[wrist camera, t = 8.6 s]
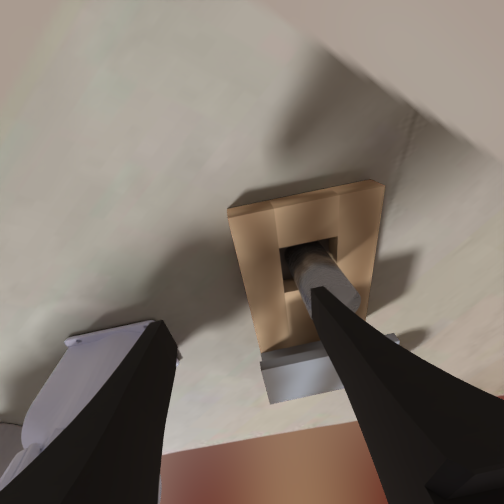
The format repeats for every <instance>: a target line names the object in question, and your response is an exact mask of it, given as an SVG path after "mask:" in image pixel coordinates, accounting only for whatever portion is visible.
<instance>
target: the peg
mask: <svg viewBox="0 0 504 504" xmlns="http://www.w3.org/2000/svg"><path fill="white" fill-rule="evenodd" d="M285 260H286V263H287V265H288V267H289V270H290V272H291V274H292V276H293V279H294V281H295V283H296V286H297V288H298V290H299V292H300V295H301V297H302V299H303V302H304V304H305V306H306V308H307V311H308V313H309V315H310V317H311V319H312V310H311V288H316V287H321V286H324V287H325V288H327V289H328V290H329V291H330V292H331V293H332V294H333V295H334V296H335V297H336V298H338V299H339V300H340V301H341V302H342V303H343V304H345V305H346V306H347V307H348V308H349V309H350V310H352V311H353V312H354V313H355V312H356V311H357V310H358V308H359V306H360V303H361V297H360V295H359V293H358V292H357V290H356V289H355V288H354V286H353V285H352V284H351V282H350V281H349V280H348V279H347V277H346V276H345V275H344V273H343V272H342V271H341V269H340V268H339V267H338V265H337V264H336V263H335V261H334V260H333V259H332V258H331V256H330V255H329V254H328V252H327V251H326V250H325V248H324V247H323V246H322V244H321V243H320V242H319V241H318V240H317V241H312V242H307V243H303V244H298V245H293V246H288V247H287V248H286V250H285Z"/></svg>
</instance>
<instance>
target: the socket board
mask: <svg viewBox="0 0 504 504" xmlns="http://www.w3.org/2000/svg"><path fill="white" fill-rule="evenodd" d="M384 192H385V185H382V184H380V183H378V182H375V181H373V180H371V179H369V180H364V181H360V182H355V183H350V184H345V185H340V186H335V187H330V188H326V189H321V190H316V191H311V192H306V193H301V194H296V195H292V196H287V197H282V198H277V199H272V200H267V201H262V202H258V203H253V204H248V205H243V206H238V207H233V208H229V209H227V215H228V221H229V226H230V230H231V234H232V238H233V242H234V246H235V250H236V254H237V258H238V262H239V266H240V270H241V274H242V278H243V282H244V286H245V291H246V295H247V299H248V303H249V307H250V311H251V315H252V319H253V323H254V327H255V331H256V335H257V339H258V343H259V347H260V351H261V357H262V361H261V362H260V366H261V372H262V375H263V379H264V383H265V387H266V391H267V394H268V398H269V402H270V404H274V403H279V402H284V401H288V400H293V399H297V398H302V397H307V396H311V395H316V394H320V393H325V392H330V391H334V390H339V389H344V386H343V384H342V382H341V380H340V378H339V376H338V374H337V372H336V370H335V368H334V366H333V364H332V362H331V360H330V358H329V356H328V354H327V352H326V350H325V348H324V346H323V344H322V342H321V340H320V338H319V336H318V333H317V331H316V328H315V325H314V322H313V320H312V319H311V317H310V315H309V313H308V311H307V308H306V306H305V304H304V302H303V299H302V297H301V295H300V292H299V290H298V288H297V286H296V283H295V281H294V279H293V276H292V274H291V272H290V270H289V267H288V265H287V263H286V260H285V250H286V248H287V247H288V246H293V245H298V244H303V243H307V242H312V241H317V240H318V241H319V242H320V243H321V244H322V246H323V247H324V248H325V250H326V251H327V252H328V254H329V255H330V256H331V258H332V259H333V260H334V261H335V263H336V264H337V265H338V267H339V268H340V269H341V271H342V272H343V273H344V275H345V276H346V277H347V279H348V280H349V281H350V282H351V284H352V285H353V286H354V288H355V289H356V290H357V292H358V293H359V295H360V297H361V303H360V306H359V308H358V310H357V311H356V312H355V314H357V315H358V316H359V317H360V318H362V319H363V320H364V321H365V320H366V313H367V306H368V299H369V293H370V286H371V279H372V272H373V266H374V259H375V252H376V246H377V239H378V232H379V225H380V219H381V212H382V205H383V198H384ZM385 336H386V337H388V338H389V339H391V340H392V341H394V342H395V343H397V344H399V342H400V340H399V339H398V338H397V337H396V335H395V334H394V333H391V334H387V335H385Z"/></svg>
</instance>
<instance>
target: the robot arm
mask: <svg viewBox="0 0 504 504" xmlns="http://www.w3.org/2000/svg"><path fill="white" fill-rule="evenodd" d="M311 310H312V320H313V322H314V325H315V328H316V331H317V333H318V336H319V338H320V340H321V342H322V344H323V346H324V348H325V350H326V352H327V354H328V356H329V358H330V360H331V362H332V364H333V366H334V368H335V370H336V372H337V374H338V376H339V378H340V380H341V382H342V384H343V386H344V388H345V391H346V393H347V395H348V398H349V400H350V403H351V405H352V408H353V410H354V413H355V415H356V418H357V420H358V423H359V425H360V428H361V431H362V433H363V436H364V438H365V441H366V443H367V446H368V449H369V452H370V454H371V457H372V459H373V462H374V465H375V468H376V470H377V473H378V476H379V479H380V481H381V484H382V487H383V490H384V492H385V495H386V498H387V501H388V504H504V400H503V399H500V398H498V397H496V396H494V395H491V394H489V393H487V392H485V391H483V390H481V389H478V388H476V387H474V386H472V385H470V384H468V383H466V382H464V381H462V380H460V379H458V378H456V377H454V376H452V375H451V374H449V373H447V372H445V371H443V370H441V369H440V368H438V367H436V366H434V365H432V364H430V363H429V362H427V361H425V360H423V359H421V358H420V357H418V356H416V355H415V354H413V353H411V352H410V351H408V350H406V349H405V348H403V347H402V346H400V345H399V344H397V343H395V342H394V341H392V340H391V339H389V338H388V337H386V336H385V335H383V334H382V333H381V332H379V331H378V330H376V329H375V328H374V327H372V326H371V325H370V324H368V323H367V322H366V321H364V320H363V319H362V318H360V317H359V316H358V315H357V314H355V313H354V312H353V311H352V310H350V309H349V308H348V307H347V306H346V305H345V304H343V303H342V302H341V301H340V300H339V299H338V298H336V297H335V296H334V295H333V294H332V293H331V292H330V291H329V290H328V289H327V288H325V287H324V286H321V287H316V288H311ZM145 325H146V326H145ZM64 343H65V345H66V346H67V347H68V349H67V351H66V352H65V354H64V355H63V357H62V358H61V360H60V361H59V363H58V364H57V366H56V367H55V369H54V370H53V372H52V373H51V375H50V376H49V378H48V379H47V381H46V382H45V384H44V386H43V387H42V389H41V390H40V392H39V393H38V395H37V396H36V398H35V399H34V401H33V402H32V404H31V406H30V407H29V409H28V412H27V414H26V416H25V419H24V423H23V427H22V433H21V441H22V445H23V448H24V450H22V451H20V452H18V453H17V454H16V455H15V457H14V458H13V460H12V461H11V463H10V464H9V466H8V467H7V469H6V470H5V472H4V473H3V475H2V477H1V478H0V504H160V499H161V498H160V497H161V475H160V467H161V456H162V447H163V437H164V430H165V423H166V418H167V413H168V408H169V403H170V398H171V392H172V387H173V382H174V377H175V371H176V366H178V365H179V360H178V359H177V348H178V346H177V344H176V343H175V341H174V339H173V337H172V335H171V334H170V332H169V330H168V328H167V327H166V325H165V323H164V321H163V320H160V321H153V320H149V321H144V322H139V323H135V324H130V325H125V326H120V327H116V328H111V329H106V330H101V331H97V332H92V333H87V334H82V335H78V336H73V337H68V338H66V340H65V341H64Z"/></svg>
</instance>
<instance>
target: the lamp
mask: <svg viewBox="0 0 504 504" xmlns="http://www.w3.org/2000/svg"><path fill="white" fill-rule="evenodd" d="M22 427H23V426H20V425H15V424H8V423H0V478H1V477H2V475H3V473H4V472H5V470H6V469H7V467H8V466H9V464H10V463H11V461H12V460H13V458H14V457H15V455H16V454H17V453H18V452H20V451H22V450H24V448H23V445H22V441H21V433H22Z"/></svg>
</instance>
